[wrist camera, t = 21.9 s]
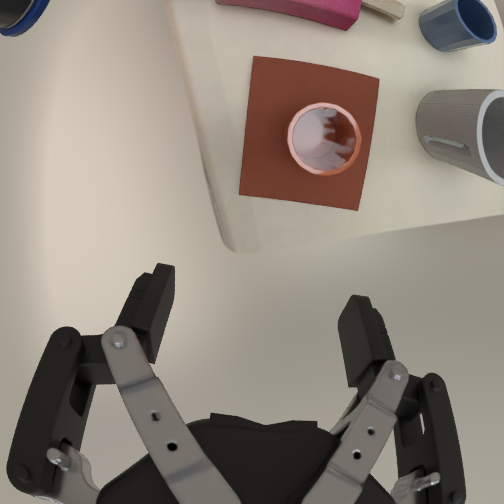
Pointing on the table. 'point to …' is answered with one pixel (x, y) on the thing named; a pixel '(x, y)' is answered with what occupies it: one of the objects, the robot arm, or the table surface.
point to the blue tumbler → (458, 25)
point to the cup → (465, 129)
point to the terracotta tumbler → (322, 138)
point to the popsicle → (324, 9)
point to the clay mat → (272, 121)
